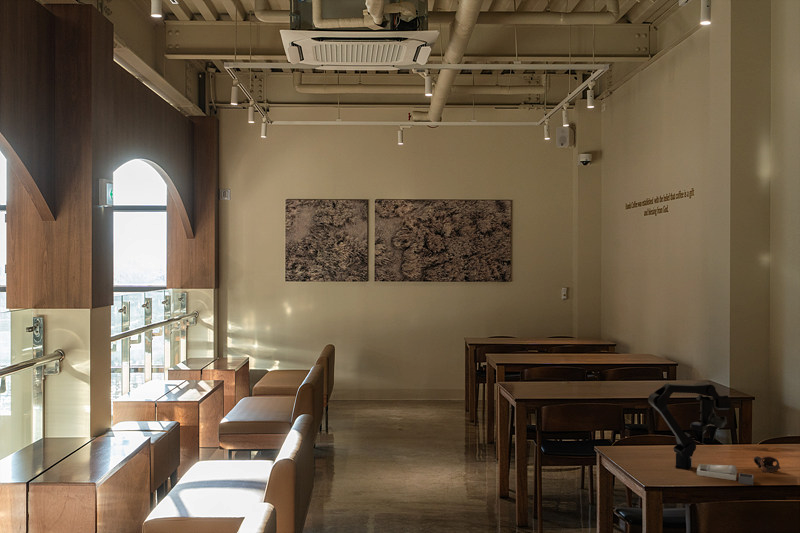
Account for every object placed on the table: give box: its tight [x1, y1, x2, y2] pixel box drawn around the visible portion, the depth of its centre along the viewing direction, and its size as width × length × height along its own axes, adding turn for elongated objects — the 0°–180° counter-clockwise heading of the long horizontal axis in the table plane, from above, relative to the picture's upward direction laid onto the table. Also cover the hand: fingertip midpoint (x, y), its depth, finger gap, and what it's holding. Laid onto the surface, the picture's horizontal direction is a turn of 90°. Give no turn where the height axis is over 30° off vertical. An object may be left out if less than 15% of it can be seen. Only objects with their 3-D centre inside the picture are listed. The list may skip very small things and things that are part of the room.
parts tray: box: [696, 463, 737, 481], centre depth 309 cm, size 16×12×3 cm
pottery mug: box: [753, 455, 781, 473], centre depth 317 cm, size 12×9×8 cm
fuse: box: [705, 463, 738, 475], centre depth 308 cm, size 4×4×12 cm
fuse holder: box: [738, 472, 754, 486], centre depth 298 cm, size 6×6×4 cm
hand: (706, 442), depth 323 cm, fingers open, 9 cm apart
